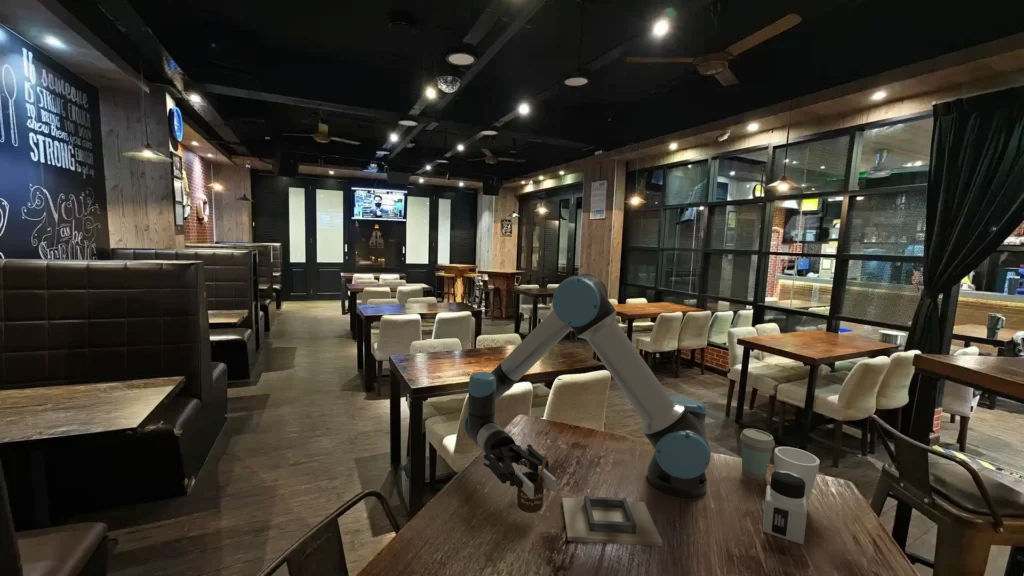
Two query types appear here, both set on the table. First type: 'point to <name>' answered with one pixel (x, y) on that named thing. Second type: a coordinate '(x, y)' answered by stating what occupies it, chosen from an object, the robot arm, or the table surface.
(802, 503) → the container
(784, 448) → the foam cup
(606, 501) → the collar board
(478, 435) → the robot arm
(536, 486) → the utensil holder
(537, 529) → the table surface
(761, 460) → the coffee cup
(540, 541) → the table surface
